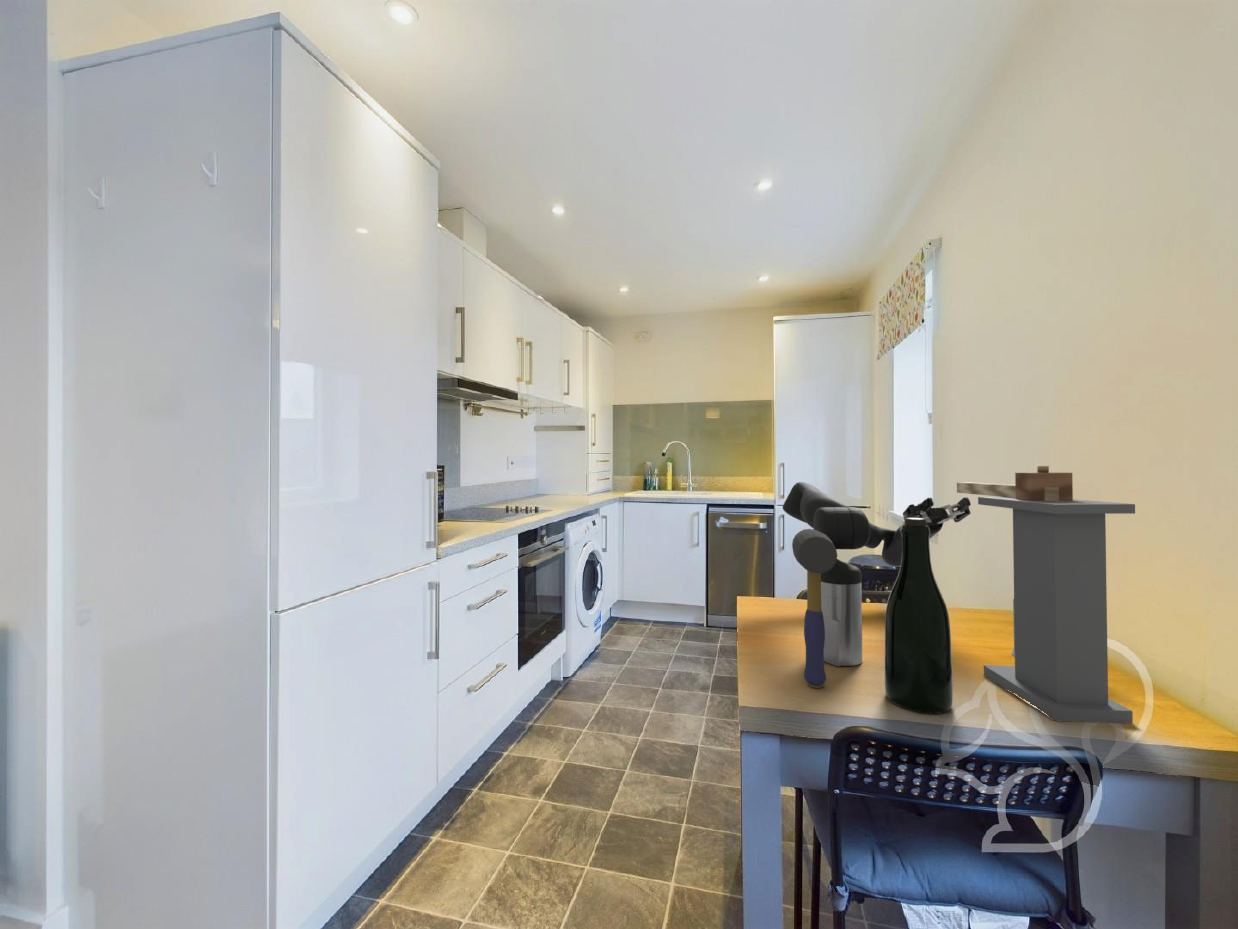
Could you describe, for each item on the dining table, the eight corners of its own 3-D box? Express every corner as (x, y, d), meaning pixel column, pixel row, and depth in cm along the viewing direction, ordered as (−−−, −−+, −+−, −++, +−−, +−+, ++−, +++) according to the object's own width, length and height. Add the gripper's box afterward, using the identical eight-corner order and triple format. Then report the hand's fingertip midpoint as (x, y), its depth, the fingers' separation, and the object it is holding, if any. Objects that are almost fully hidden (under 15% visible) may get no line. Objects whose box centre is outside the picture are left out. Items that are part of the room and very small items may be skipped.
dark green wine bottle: (944, 693, 92) (942, 515, 93) (960, 720, 83) (957, 521, 83) (881, 685, 96) (878, 514, 96) (889, 710, 86) (886, 520, 86)
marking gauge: (1072, 500, 90) (1072, 465, 90) (1031, 500, 90) (1030, 466, 90) (978, 492, 116) (977, 466, 116) (946, 492, 117) (946, 466, 117)
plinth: (1138, 726, 80) (1135, 504, 80) (1058, 723, 81) (1055, 504, 81) (1043, 674, 100) (1041, 496, 100) (980, 673, 101) (978, 497, 101)
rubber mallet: (842, 702, 89) (839, 535, 89) (797, 698, 91) (795, 534, 91) (830, 674, 101) (828, 527, 101) (791, 671, 103) (789, 526, 103)
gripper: (951, 539, 134) (985, 514, 120) (896, 539, 135) (923, 514, 121) (943, 514, 138) (974, 486, 124) (889, 514, 139) (915, 487, 125)
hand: (949, 500), depth 123 cm, fingers open, 8 cm apart
